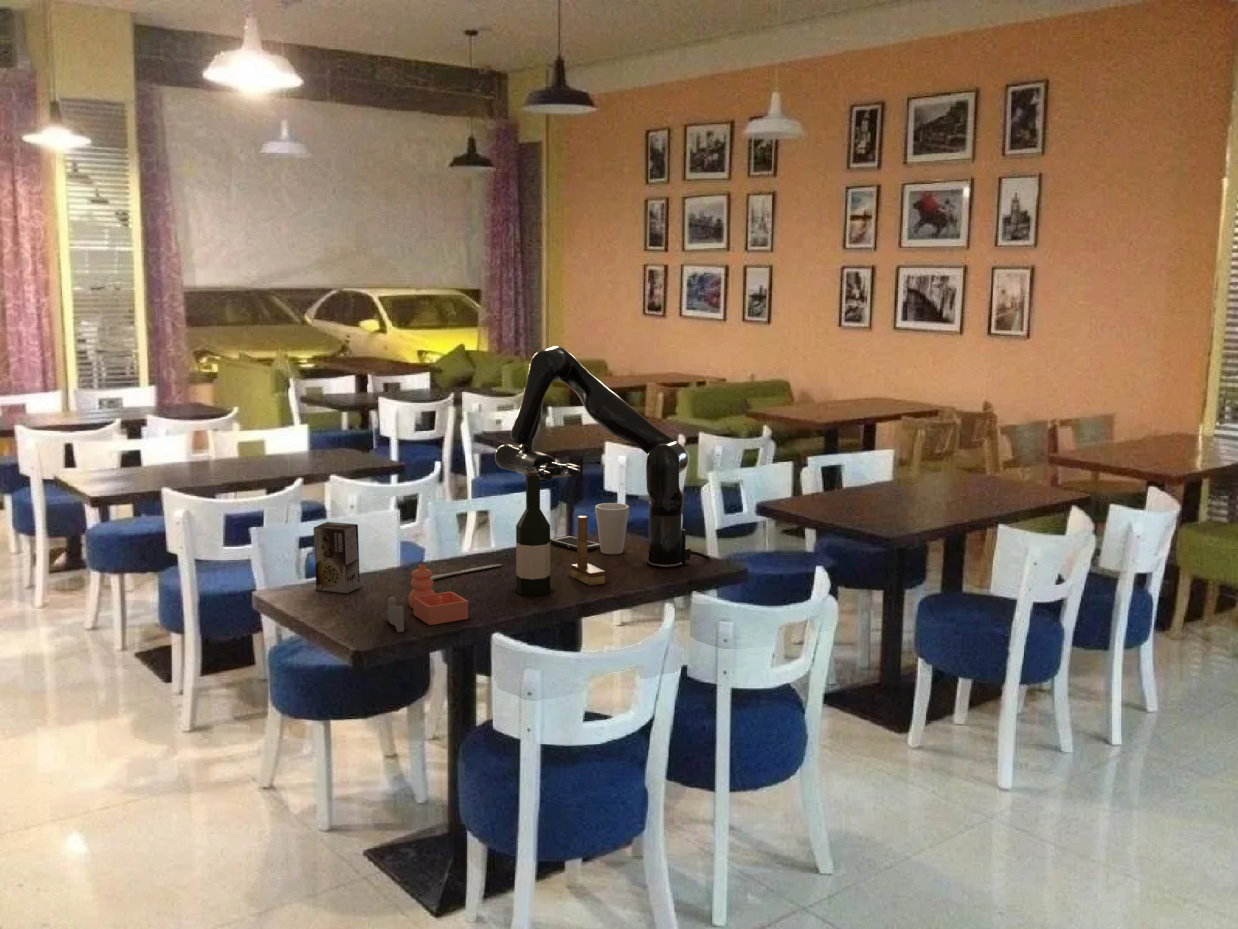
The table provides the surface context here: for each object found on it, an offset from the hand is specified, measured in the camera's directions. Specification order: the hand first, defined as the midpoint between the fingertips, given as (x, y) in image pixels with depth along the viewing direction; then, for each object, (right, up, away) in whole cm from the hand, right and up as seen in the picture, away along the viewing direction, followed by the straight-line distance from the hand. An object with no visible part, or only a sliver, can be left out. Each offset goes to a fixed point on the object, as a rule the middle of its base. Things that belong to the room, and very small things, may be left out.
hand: (564, 475), depth 305 cm
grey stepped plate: (-35, -33, -47) cm, 68 cm away
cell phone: (+2, -21, +29) cm, 35 cm away
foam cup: (+12, -22, +22) cm, 34 cm away
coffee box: (-55, -28, -18) cm, 65 cm away
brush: (+6, -27, -8) cm, 29 cm away
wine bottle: (-7, -29, -18) cm, 35 cm away
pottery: (-29, -31, -36) cm, 56 cm away
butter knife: (-26, -26, -2) cm, 37 cm away
